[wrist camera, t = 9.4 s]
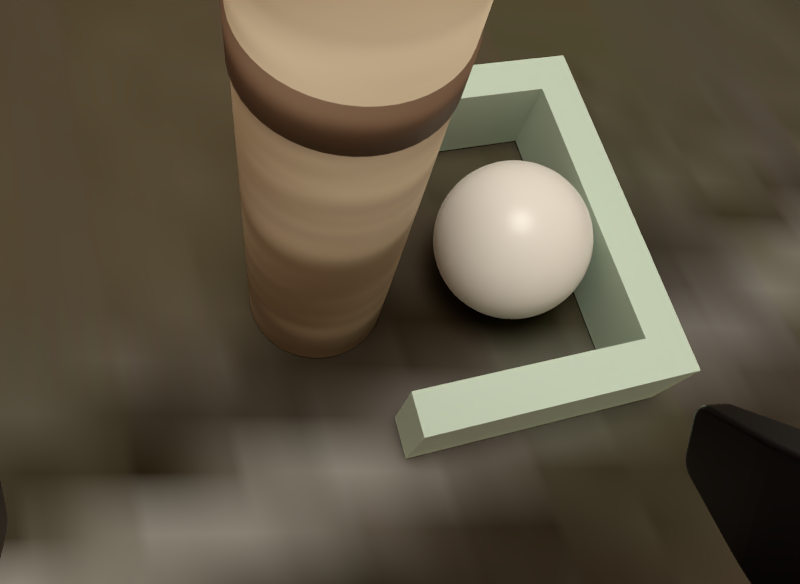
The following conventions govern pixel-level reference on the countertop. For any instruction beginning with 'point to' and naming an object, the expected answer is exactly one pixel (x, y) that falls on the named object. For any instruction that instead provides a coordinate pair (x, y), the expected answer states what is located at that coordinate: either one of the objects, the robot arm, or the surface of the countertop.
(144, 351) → the countertop surface
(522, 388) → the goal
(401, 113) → the player peg
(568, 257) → the ball
